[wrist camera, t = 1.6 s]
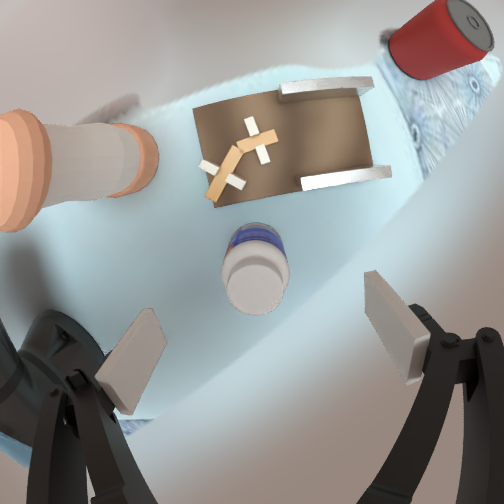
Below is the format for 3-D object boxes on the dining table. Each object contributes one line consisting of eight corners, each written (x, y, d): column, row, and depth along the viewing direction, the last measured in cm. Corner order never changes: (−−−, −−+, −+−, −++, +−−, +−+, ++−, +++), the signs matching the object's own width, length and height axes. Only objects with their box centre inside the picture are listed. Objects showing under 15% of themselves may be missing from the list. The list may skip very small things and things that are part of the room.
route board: (216, 206, 26) (214, 208, 26) (194, 110, 23) (192, 108, 22) (371, 178, 25) (374, 179, 24) (352, 85, 22) (355, 82, 21)
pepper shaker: (90, 159, 25) (-55, 181, 7) (133, 112, 23) (-14, 78, 5) (125, 207, 27) (-17, 275, 9) (172, 161, 25) (24, 173, 7)
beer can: (442, 71, 20) (506, 49, 9) (411, 89, 21) (481, 64, 10) (409, 27, 18) (463, -12, 7) (376, 41, 20) (429, -6, 8)
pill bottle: (227, 223, 27) (210, 255, 18) (281, 220, 27) (292, 251, 18) (232, 273, 29) (219, 325, 20) (283, 271, 28) (293, 322, 19)
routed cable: (208, 203, 25) (203, 207, 23) (193, 134, 23) (186, 132, 21) (286, 186, 25) (289, 189, 22) (272, 117, 23) (273, 112, 20)
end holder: (296, 186, 25) (303, 190, 21) (277, 95, 22) (280, 83, 18) (374, 174, 24) (392, 177, 20) (356, 87, 21) (371, 76, 17)
